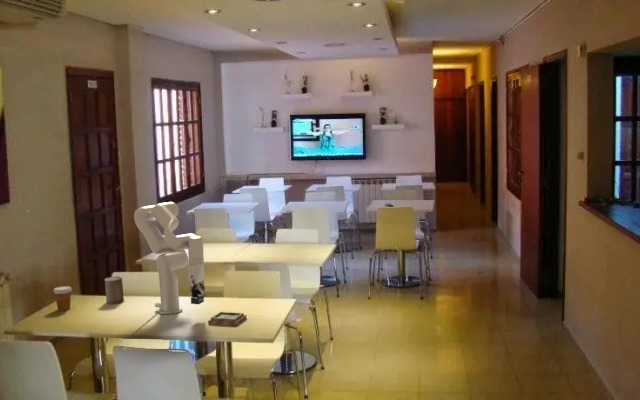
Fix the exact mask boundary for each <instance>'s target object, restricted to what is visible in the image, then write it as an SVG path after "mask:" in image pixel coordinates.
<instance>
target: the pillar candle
mask: <svg viewBox="0 0 640 400" xmlns="http://www.w3.org/2000/svg"><path fill="white" fill-rule="evenodd" d="M123 286H124V285H123V278H122V276H110V277H106V278H104V287H105V298H106V304H108V305H115V304H116V305H117V304H120V303H123V302H125V299H124V297H125V296H124V287H123Z"/></svg>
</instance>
